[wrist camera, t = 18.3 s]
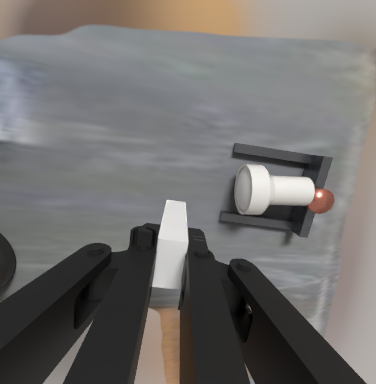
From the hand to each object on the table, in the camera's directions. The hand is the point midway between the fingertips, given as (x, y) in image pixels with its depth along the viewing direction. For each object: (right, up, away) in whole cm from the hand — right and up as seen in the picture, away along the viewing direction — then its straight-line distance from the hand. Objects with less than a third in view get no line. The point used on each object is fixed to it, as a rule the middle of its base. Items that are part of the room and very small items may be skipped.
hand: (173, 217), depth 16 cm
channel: (+16, +3, +21) cm, 27 cm away
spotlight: (+15, +3, +20) cm, 25 cm away
